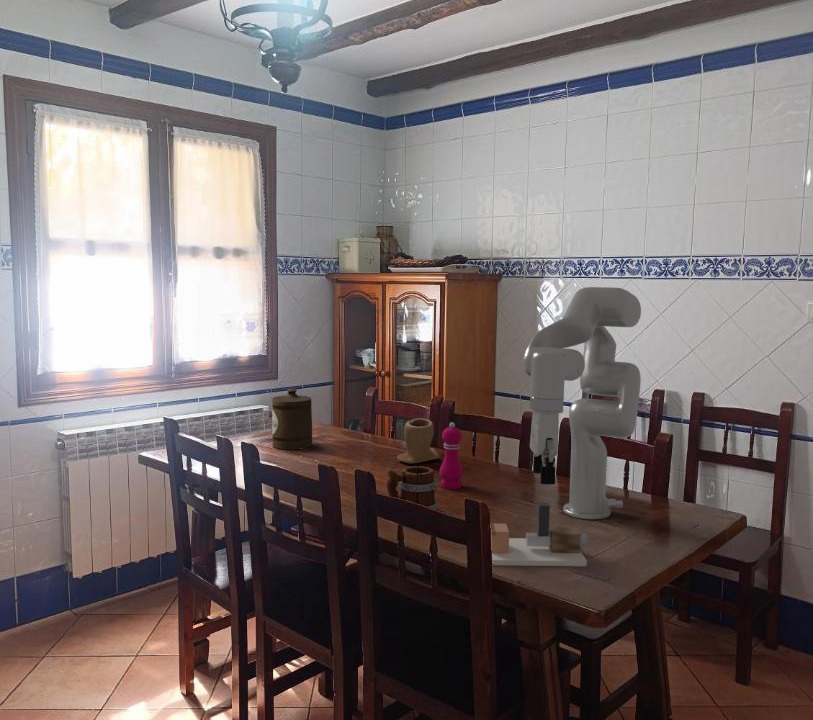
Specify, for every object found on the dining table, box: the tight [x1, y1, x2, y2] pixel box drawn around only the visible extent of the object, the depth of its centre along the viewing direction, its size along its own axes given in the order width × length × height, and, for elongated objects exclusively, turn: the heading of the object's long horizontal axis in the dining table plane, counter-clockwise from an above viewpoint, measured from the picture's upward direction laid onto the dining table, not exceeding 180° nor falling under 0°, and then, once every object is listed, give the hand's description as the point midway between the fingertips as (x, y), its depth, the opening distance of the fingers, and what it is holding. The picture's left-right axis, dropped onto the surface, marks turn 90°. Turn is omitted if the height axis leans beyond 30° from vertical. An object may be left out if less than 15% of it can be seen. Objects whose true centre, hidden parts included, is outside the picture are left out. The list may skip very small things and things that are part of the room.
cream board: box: [492, 537, 588, 567], centre depth 174 cm, size 22×14×1 cm, turn 90°
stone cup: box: [396, 417, 440, 464], centre depth 257 cm, size 15×12×15 cm
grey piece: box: [525, 502, 589, 548], centre depth 173 cm, size 14×2×10 cm, turn 90°
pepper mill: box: [439, 422, 464, 490], centre depth 227 cm, size 7×7×20 cm
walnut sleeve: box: [549, 526, 581, 553], centre depth 173 cm, size 6×5×5 cm
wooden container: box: [271, 387, 313, 450], centre depth 279 cm, size 15×15×22 cm
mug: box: [386, 465, 439, 511], centre depth 202 cm, size 12×14×15 cm
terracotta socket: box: [489, 522, 510, 553], centre depth 173 cm, size 4×6×5 cm
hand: (543, 478), depth 171 cm, fingers open, 9 cm apart
